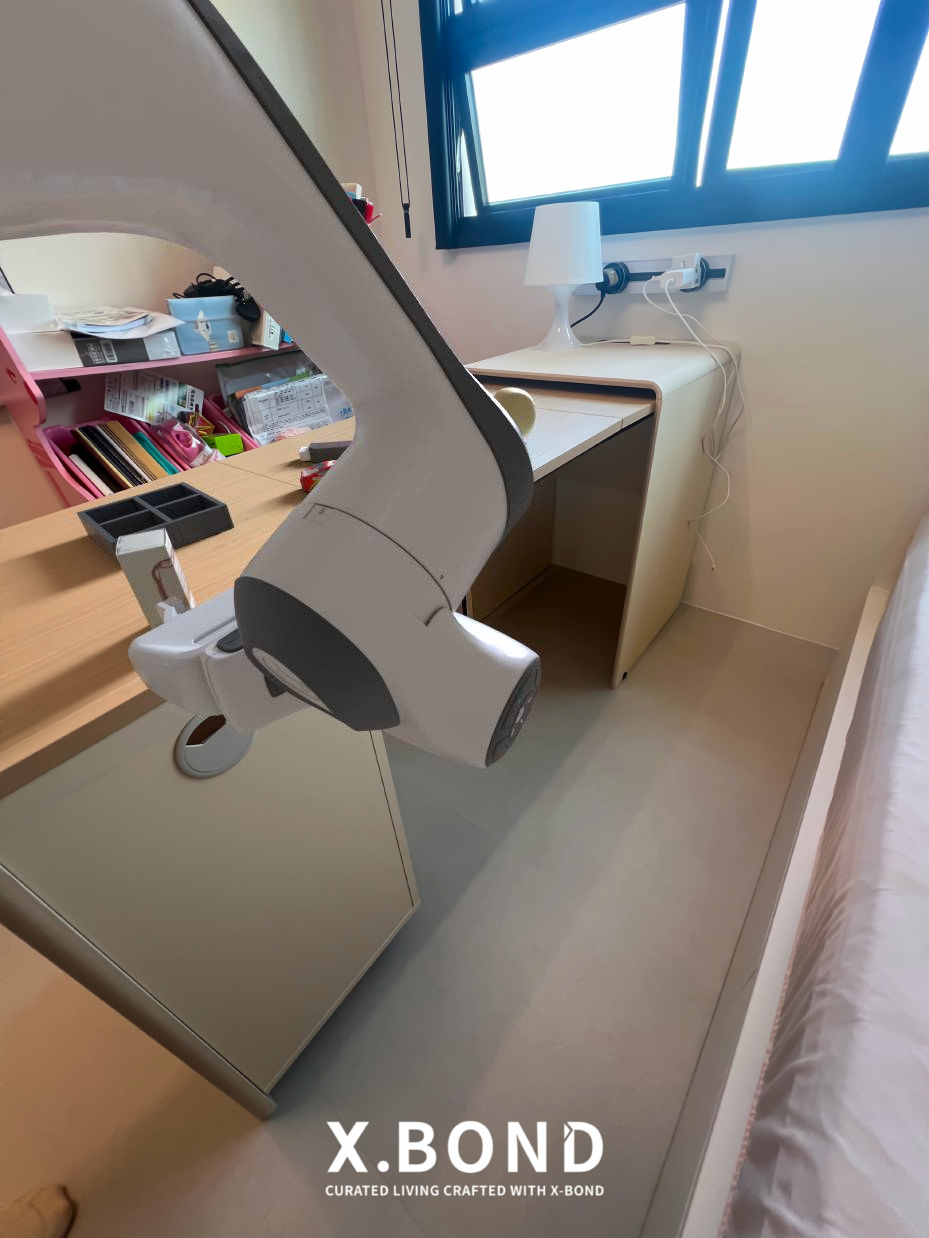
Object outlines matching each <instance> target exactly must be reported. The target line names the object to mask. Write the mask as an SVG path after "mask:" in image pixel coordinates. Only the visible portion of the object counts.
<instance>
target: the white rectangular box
mask: <svg viewBox="0 0 929 1238" xmlns="http://www.w3.org/2000/svg"><path fill="white" fill-rule="evenodd" d="M116 557H117V559H118V561H119V563H120V564H119V563H118V564H119V566H120V568H121V569H122V572H123V574H124V576H125V578H126V580H127V582H128V584H129V586H130V588H131V590H132V592H133V594H134V596H135V598H136V601H137V603H138V605H139V606H140V610H141V611H142V613H143V616H144V617H145V619H146V621H147V624H148V625H149V627H150V629H151V630H153V629H155V628H156V627H158V626H160V625H162V624H164V623H163V621H162V619H161V618H160V616H159V614H158V612H157V610H156V608H155V605H156V604H158V603H160V602H162V601H164V600H166V599H168V598H171V597H173V596H174V597H176V599H180V600H182V601H183V602H184V604H185V607H186V610H185V611H186V612H187V611H189V610H190V609H192V608H194V607H196V606H197V603H196V600H195V598H194V596H193V593H192V591H191V588H190V586H189V583H188V581H187V579H186V577H185V576H186V575H185V574H184V572H183V569H182V567H181V564H180V561H179V559H178V556H177V554H176V551H175V549H173V547H172V544H171V542H170V539H169V537H168V534H167V532H166V529H165V528H161V529H157V530H151V531H146V532H141V533H136V534H130V535H125V536H120V537H119V538H118V542H117V545H116Z"/></svg>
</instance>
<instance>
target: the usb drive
mask: <svg viewBox="0 0 929 1238" xmlns="http://www.w3.org/2000/svg"><path fill="white" fill-rule="evenodd" d="M352 440H353V439H351V440H339V441H338V440H337V441H326V442H323V441H322V442H310V444H309V446H301V448H300V449H299V451H298V455H299V459H300V462H307V461H308V462H309V461H310V462H311V463H314V464H315V463H316V464H319V463H322V462H326V461H331V460H338V459H339V457H340V456H341V455H342V454H343V453H344V452H345V450H346V449H347V448H348V447H349V446H350V444H351V442H352Z"/></svg>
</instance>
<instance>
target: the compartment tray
mask: <svg viewBox="0 0 929 1238" xmlns="http://www.w3.org/2000/svg"><path fill="white" fill-rule="evenodd" d="M76 515H77V517H78V518H79V520H80V522H81V524H82V526H83V528H84V530H85V532H86V534H87V535H88V536H89V538H91V539H92V541H94V542H95V543H96V544H97V545H98V547H100V548H101V549H102V550H104V552H106V553H107V554H108V555H109V556H110V557H111V558H112V559H113V560H114V561H115V562H116V563H117V564H119V565H120V563H119V561H118V559H117V557H116V545H117V542H118V538H119V537H120V536H125V535H130V534H136V533H141V532H146V531H151V530H157V529H161V528H165V529H166V532H167V534H168V537H169V539H170V542H171V544H172V547H173V549H174V550H176V549H178V548H182V547H184V546H187V545H189V544H192V543H195V542H198V541H200V540H203V539H206V538H209V537H212V536H214V535H216V534H220V533H223V532H225V531H228V530H232V529H235V525H234V522H233V519H232V516H231V513H230V511H229V507H228V504H226V503H225V502H222V501H221V500H219V499H217V498H215V497H213V496H211V495H210V494H207V493H205V492H204V491H202V490H200V489H199V488H197V487H194V486H193V485H190V484H189V483H186V482H185V481H182V482H178V483H174V484H171V485H167V486H164V487H160V488H156V489H154V490H150V491H146V492H143V493H140V494H136V495H133V496H129V497H126V498H122V499H119V500H116V501H112V502H109V503H105V504H102V505H99V506H95V507H91V508H88V509H83V510H81V511H76Z"/></svg>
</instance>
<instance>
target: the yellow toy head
mask: <svg viewBox="0 0 929 1238" xmlns="http://www.w3.org/2000/svg"><path fill="white" fill-rule="evenodd" d="M493 397H494V398H495V399H496V400H497V402H498V403H499V404H500V405H501V406H502V407H503V408H504V409H505V411H506V412H507V413H508V414H509V416H510V417H511V418H512V420H513V421H514V423H515V424H516V426H517V427H518V429H519V431H520V433H521V435H522V437H523V440H524V441H525V440H526V439H529V438H530V437H531V436H530V435H531V433H532V431H533V430H534V427H535V425H536V421H537V409H536V408H537V407H536V404H535V402H534V400H533V398H532V396H531V395H530V394H529V393H528V392H527V391H525V390H523V389H521V388H517V387H503V388H501V389H499V390H498V391H497V392H496V393H494V395H493Z"/></svg>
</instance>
